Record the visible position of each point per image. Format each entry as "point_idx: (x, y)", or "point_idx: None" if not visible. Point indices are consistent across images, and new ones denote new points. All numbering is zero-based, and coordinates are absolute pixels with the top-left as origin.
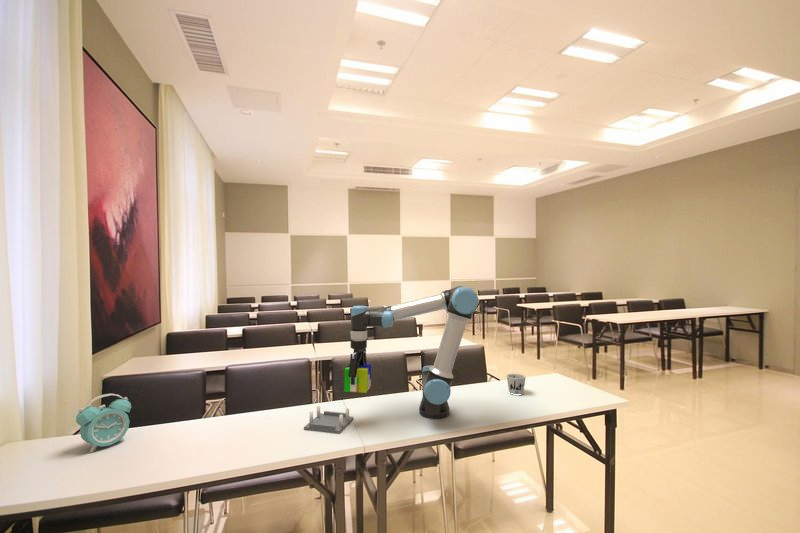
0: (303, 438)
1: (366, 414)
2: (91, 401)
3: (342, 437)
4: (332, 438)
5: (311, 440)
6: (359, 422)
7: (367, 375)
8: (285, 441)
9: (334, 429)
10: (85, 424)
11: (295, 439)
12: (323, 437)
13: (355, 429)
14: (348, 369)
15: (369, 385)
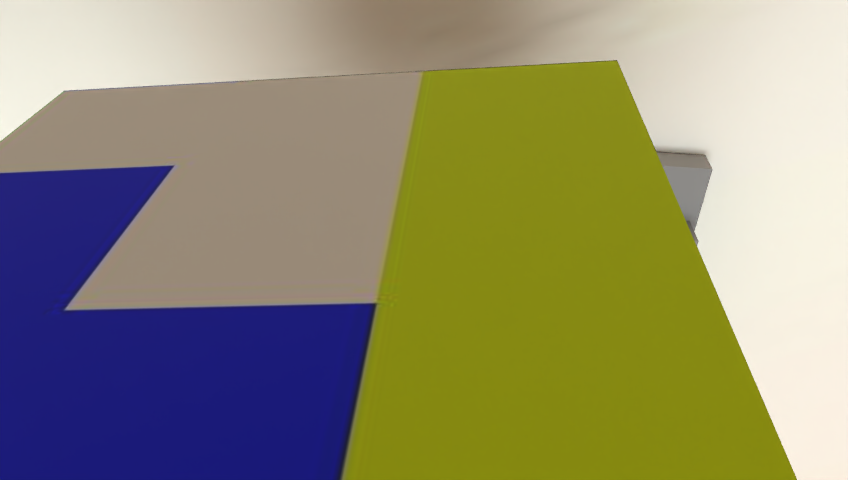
0: (789, 394)
1: (140, 21)
2: None
3: (789, 103)
4: (806, 188)
5: (833, 333)
6: (385, 37)
7: (511, 328)
8: (833, 476)
9: (691, 225)
10: None
11: (803, 434)
12: (778, 266)
13: (581, 26)
14: None
15: (206, 106)
